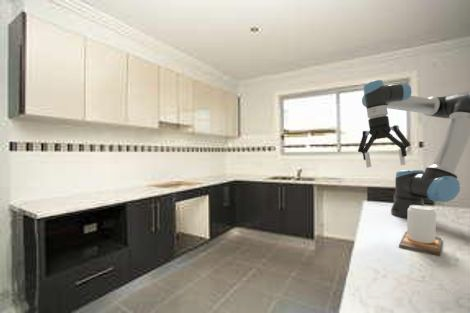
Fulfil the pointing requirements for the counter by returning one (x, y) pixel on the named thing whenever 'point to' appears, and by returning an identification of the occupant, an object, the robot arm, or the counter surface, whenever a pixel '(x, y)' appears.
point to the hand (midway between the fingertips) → (385, 166)
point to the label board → (421, 245)
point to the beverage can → (421, 224)
